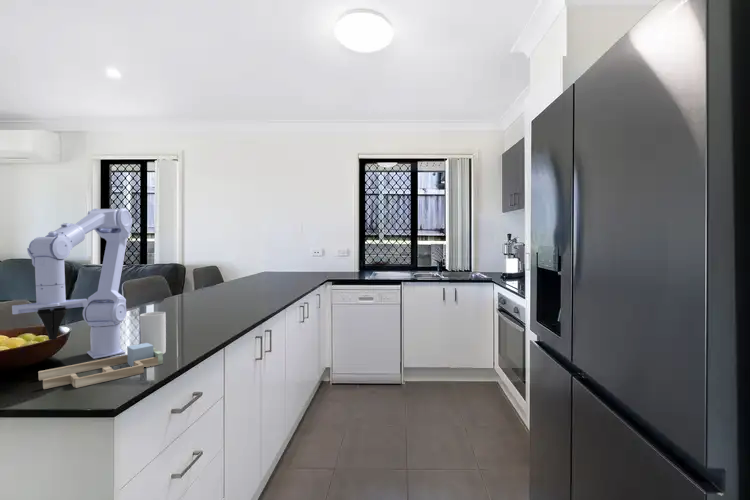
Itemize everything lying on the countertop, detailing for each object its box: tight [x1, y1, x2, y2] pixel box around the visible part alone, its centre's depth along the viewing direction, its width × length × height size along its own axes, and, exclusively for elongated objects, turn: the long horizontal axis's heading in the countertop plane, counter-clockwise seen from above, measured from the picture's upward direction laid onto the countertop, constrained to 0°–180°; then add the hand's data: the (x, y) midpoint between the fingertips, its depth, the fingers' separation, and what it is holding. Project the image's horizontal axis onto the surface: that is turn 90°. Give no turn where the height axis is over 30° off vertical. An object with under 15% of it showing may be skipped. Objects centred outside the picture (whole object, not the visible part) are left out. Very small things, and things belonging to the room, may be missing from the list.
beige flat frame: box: [37, 348, 164, 390], centre depth 102 cm, size 14×25×3 cm, turn 135°
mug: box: [139, 311, 167, 355], centre depth 121 cm, size 10×7×12 cm, turn 20°
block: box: [126, 343, 154, 367], centre depth 110 cm, size 5×5×5 cm
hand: (52, 338), depth 100 cm, fingers closed
